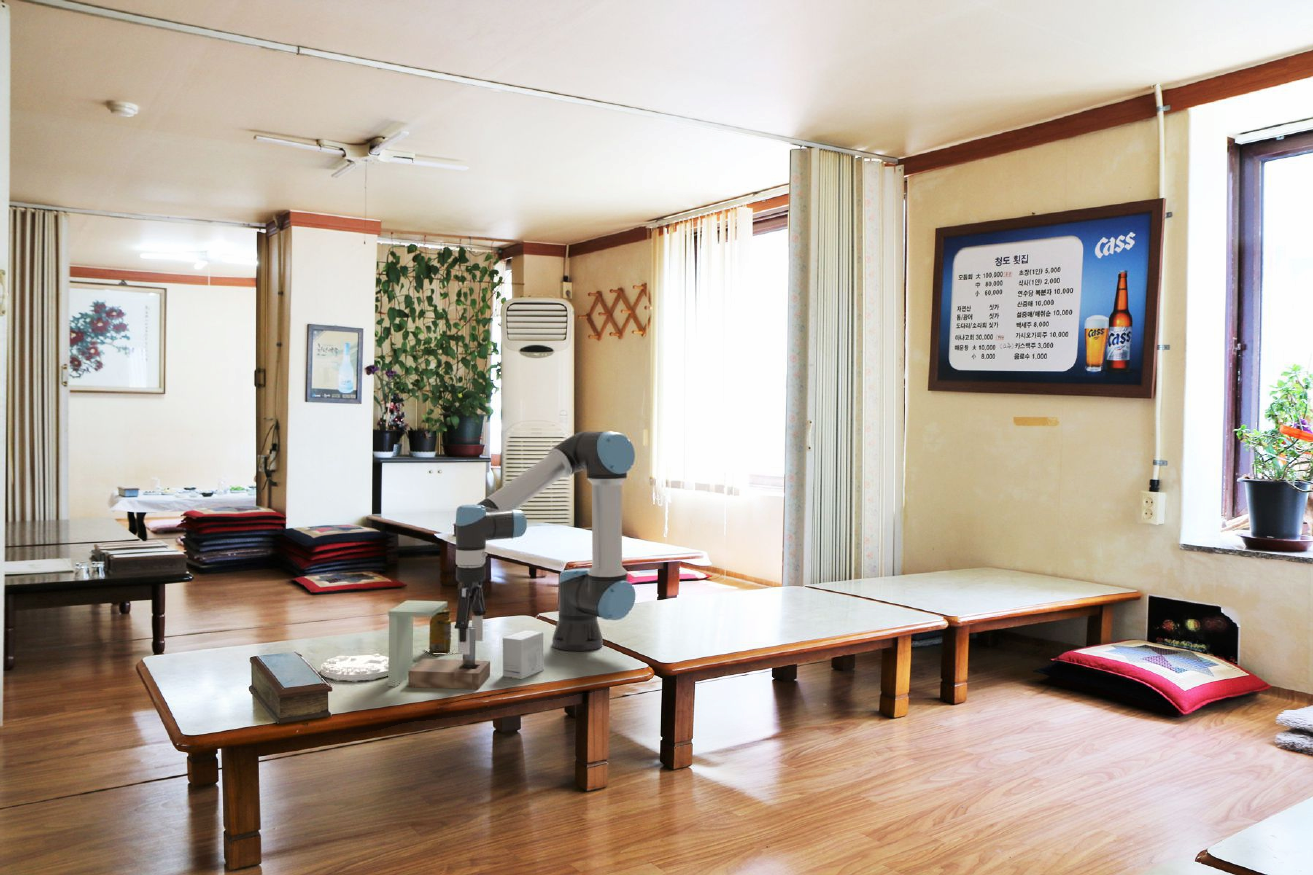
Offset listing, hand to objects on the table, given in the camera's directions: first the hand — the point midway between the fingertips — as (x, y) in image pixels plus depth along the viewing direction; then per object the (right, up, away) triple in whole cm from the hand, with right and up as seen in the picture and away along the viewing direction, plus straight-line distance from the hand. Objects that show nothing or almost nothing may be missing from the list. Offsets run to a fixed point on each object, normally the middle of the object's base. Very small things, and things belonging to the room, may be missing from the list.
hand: (470, 647), depth 242 cm
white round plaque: (-31, -9, +8) cm, 33 cm away
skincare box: (+12, -9, +9) cm, 18 cm away
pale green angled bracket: (-14, -9, +1) cm, 16 cm away
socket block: (-5, -9, 0) cm, 10 cm away
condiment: (-15, -8, +30) cm, 34 cm away
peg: (-1, -9, 0) cm, 9 cm away
